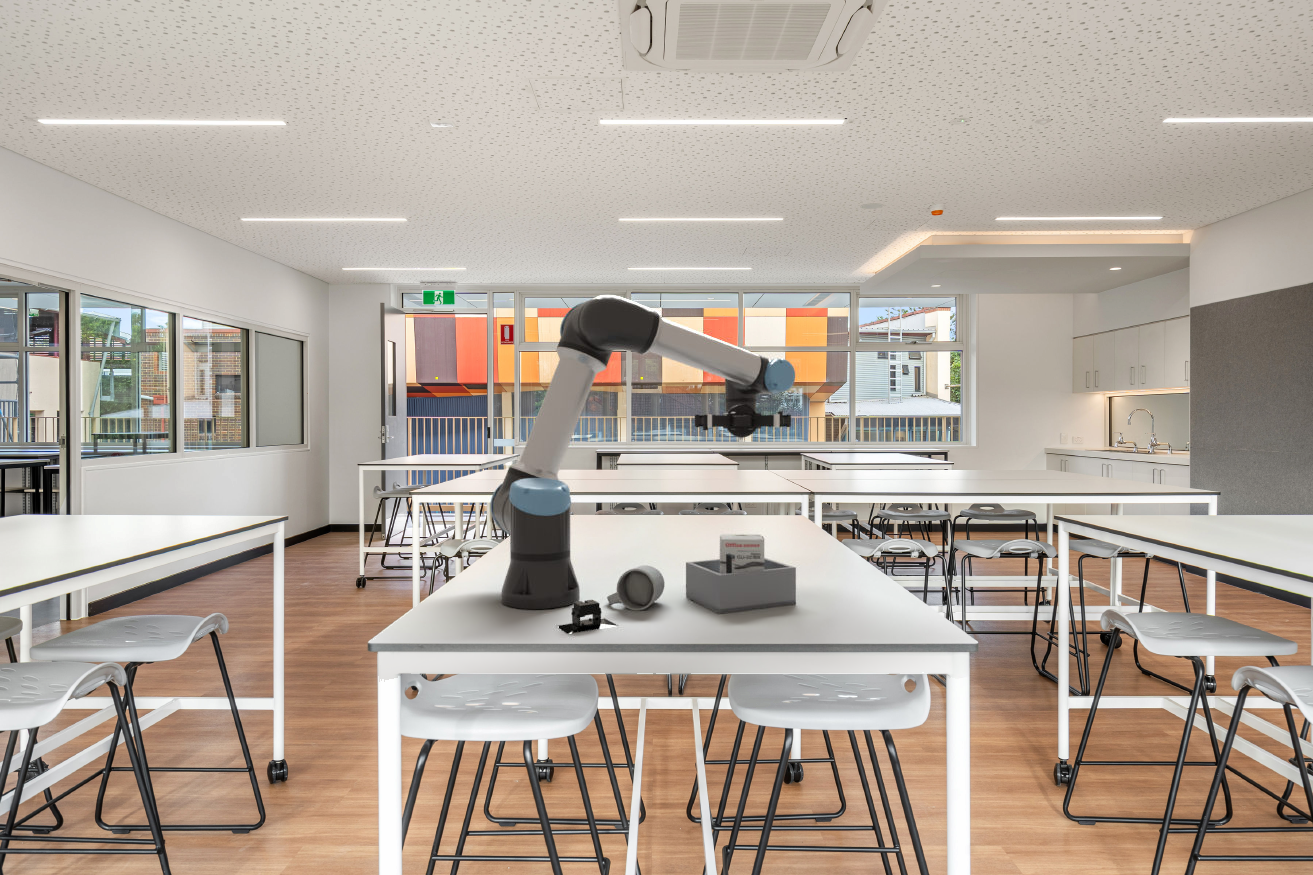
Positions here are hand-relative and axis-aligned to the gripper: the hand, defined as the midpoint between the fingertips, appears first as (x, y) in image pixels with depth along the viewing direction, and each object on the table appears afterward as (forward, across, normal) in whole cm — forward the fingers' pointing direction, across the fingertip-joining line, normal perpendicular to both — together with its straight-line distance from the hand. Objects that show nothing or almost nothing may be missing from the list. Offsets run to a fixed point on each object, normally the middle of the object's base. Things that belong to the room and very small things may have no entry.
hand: (743, 420), depth 145 cm
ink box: (+5, 0, -34) cm, 35 cm away
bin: (+5, +1, -35) cm, 35 cm away
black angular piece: (+25, +27, -36) cm, 51 cm away
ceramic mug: (+10, +21, -35) cm, 42 cm away
